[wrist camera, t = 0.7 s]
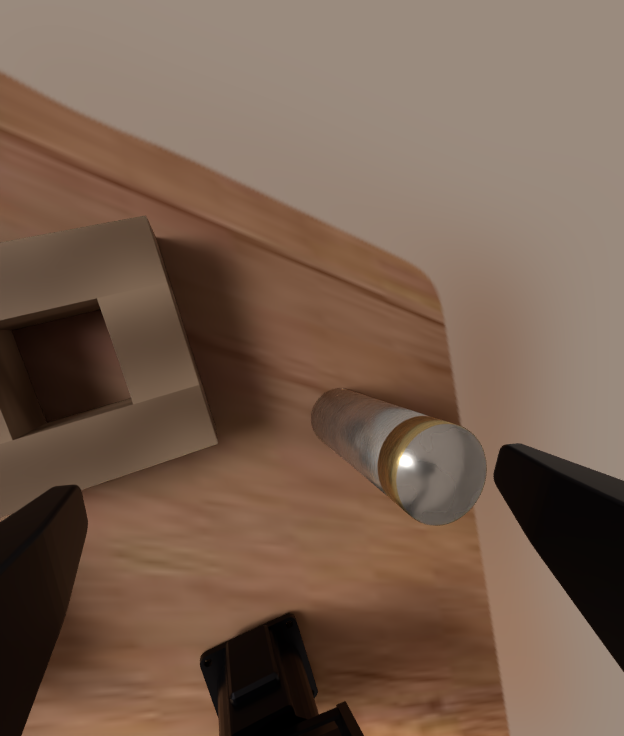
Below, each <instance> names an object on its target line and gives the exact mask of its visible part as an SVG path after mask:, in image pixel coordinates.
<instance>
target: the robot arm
mask: <svg viewBox="0 0 624 736" xmlns="http://www.w3.org/2000/svg"><path fill="white" fill-rule="evenodd" d="M494 482H495V484H496V486H497V488H498V489H499V491H500V493H501V494H502V496H503V498H504V500H505V501H506V503H507V505H508V506H509V508H510V509H511V511H512V513H513V515H514V516H515V518H516V520H517V521H518V523H519V525H520V526H521V528H522V530H523V531H524V533H525V535H526V536H527V538H528V539H529V541H530V542H531V544H532V545H533V547H534V548H535V550H536V551H537V552H538V554H539V555H540V557H541V558H542V560H543V561H544V562H545V564H546V565H547V566H548V568H549V569H550V571H551V572H552V573H553V575H554V576H555V578H556V579H557V580H558V581H559V583H560V584H561V586H562V587H563V589H564V590H565V591H566V593H567V594H568V595H569V597H570V598H571V600H572V601H573V602H574V604H575V605H576V607H577V608H578V609H579V611H580V612H581V614H582V615H583V616H584V618H585V619H586V620H587V622H588V623H589V625H590V626H591V627H592V629H593V630H594V631H595V633H596V634H597V636H598V637H599V638H600V640H601V641H602V643H603V644H604V645H605V647H606V648H607V649H608V651H609V652H610V654H611V655H612V656H613V658H614V659H615V660H616V662H617V663H618V665H619V666H620V668H621V669H622V670H623V672H624V481H622V480H620V479H617V478H614V477H611V476H609V475H606V474H603V473H601V472H598V471H595V470H592V469H590V468H587V467H584V466H581V465H579V464H575V463H573V462H570V461H567V460H565V459H562V458H559V457H556V456H554V455H551V454H548V453H545V452H543V451H540V450H537V449H534V448H532V447H529V446H526V445H523V444H518V443H517V444H507V445H503V446H502V447H501V448H500V451H499V454H498V458H497V462H496V466H495V470H494ZM87 528H88V519H87V514H86V509H85V505H84V500H83V496H82V492H81V489H80V487H79V486H78V485H76V484H73V485H62V486H54V487H52V488H50V489H49V490H47V491H46V492H44V493H43V494H41V495H40V496H38V497H37V498H35V499H34V500H32V501H31V502H29V503H28V504H26V505H25V506H24V507H22V508H21V509H19V510H18V511H16V512H15V513H13V514H12V515H10V516H9V517H7V518H6V519H4V520H3V521H2V522H0V736H21V735H22V732H23V730H24V727H25V724H26V722H27V719H28V716H29V713H30V711H31V708H32V705H33V703H34V700H35V697H36V695H37V692H38V689H39V686H40V684H41V681H42V678H43V676H44V673H45V670H46V668H47V665H48V662H49V659H50V657H51V654H52V651H53V649H54V646H55V643H56V641H57V638H58V635H59V633H60V630H61V627H62V624H63V621H64V618H65V615H66V612H67V608H68V605H69V601H70V597H71V593H72V589H73V585H74V581H75V577H76V573H77V569H78V565H79V561H80V557H81V553H82V550H83V546H84V542H85V538H86V534H87ZM288 621H291V623H289V624H286V623H287V622H288ZM207 659H210V660H211V661H209V662H205V661H206V660H207ZM200 667H201V670H202V673H203V676H204V679H205V682H206V684H207V687H208V690H209V693H210V696H211V699H212V701H213V704H214V707H215V710H216V713H217V716H218V718H219V736H364V735H363V733H362V731H361V729H360V727H359V726H358V724H357V722H356V720H355V718H354V716H353V714H352V713H351V711H350V709H349V707H348V705H347V703H346V702H342V703H340V704H337V705H336V706H337V707H336V708H334V709H331V710H329V711H326V712H324V713H322V714H319V713H318V710H317V707H316V704H315V700H314V698H315V697H316V696H317V693H318V690H317V687H316V683H315V680H314V677H313V674H312V670H311V667H310V664H309V661H308V657H307V654H306V651H305V648H304V644H303V641H302V638H301V634H300V631H299V628H298V625H297V621H296V618H295V616H294V615H293V614H291V613H288V614H285V615H283V616H281V617H279V618H276V619H274V620H272V621H270V622H268V623H266V624H264V625H261V626H259V627H257V628H255V629H253V630H251V631H248V632H246V633H244V634H242V635H240V636H238V637H236V638H233V639H231V640H229V641H227V642H225V643H223V644H221V645H219V646H216V647H214V648H212V649H210V650H208V651H206V652H204V653H203V654H202V655H201V658H200Z"/></svg>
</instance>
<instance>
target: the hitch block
mask: <svg viewBox="0 0 624 736" xmlns="http://www.w3.org/2000/svg"><path fill="white" fill-rule="evenodd" d="M99 309H101V312H102V315H103V318H104V320H105V323H106V326H107V329H108V332H109V335H110V338H111V341H112V344H113V347H114V350H115V353H116V355H117V358H118V361H119V364H120V367H121V370H122V373H123V376H124V379H125V382H126V385H127V388H128V390H129V393H130V396H131V398H130V399H126V400H123V401H120V402H116V403H113V404H109V405H106V406H103V407H99V408H96V409H92V410H89V411H86V412H82V413H79V414H75V415H72V416H69V417H65V418H62V419H58V420H55V421H51V422H48V423H46V421H45V418H44V415H43V413H42V410H41V407H40V405H39V402H38V400H37V397H36V394H35V392H34V389H33V386H32V384H31V381H30V378H29V376H28V373H27V370H26V368H25V365H24V363H23V360H22V357H21V355H20V352H19V349H18V347H17V344H16V341H15V339H14V336H13V333H12V331H11V330H15V329H19V328H23V327H27V326H32V325H36V324H40V323H44V322H49V321H53V320H57V319H61V318H66V317H70V316H74V315H78V314H82V313H87V312H91V311H95V310H99ZM216 444H218V441H217V433H216V427H215V424H214V421H213V417H212V414H211V411H210V408H209V405H208V402H207V398H206V395H205V392H204V389H203V386H202V382H201V379H200V376H199V373H198V370H197V367H196V363H195V360H194V357H193V354H192V351H191V348H190V344H189V341H188V338H187V335H186V332H185V328H184V325H183V322H182V319H181V316H180V313H179V309H178V306H177V303H176V300H175V297H174V293H173V290H172V287H171V284H170V281H169V278H168V274H167V271H166V268H165V265H164V262H163V259H162V255H161V252H160V249H159V246H158V243H157V239H156V236H155V234H154V232H153V230H152V228H151V226H150V223H149V221H148V219H147V217H146V216H141V217H135V218H130V219H124V220H119V221H114V222H108V223H103V224H97V225H92V226H87V227H81V228H76V229H70V230H65V231H60V232H54V233H49V234H43V235H38V236H33V237H27V238H22V239H17V240H11V241H6V242H0V517H3V516H6V515H9V514H12V513H15V512H16V511H18V510H19V509H21V508H22V507H24V506H25V505H26V504H28V503H29V502H31V501H32V500H34V499H35V498H37V497H38V496H40V495H41V494H43V493H44V492H46V491H47V490H49V489H50V488H52V487H54V486H62V485H73V484H76V485H78V486H79V487H80V489H81V490H83V489H86V488H89V487H92V486H95V485H98V484H101V483H104V482H107V481H110V480H113V479H116V478H118V477H121V476H124V475H127V474H130V473H133V472H136V471H139V470H142V469H145V468H148V467H151V466H154V465H157V464H160V463H163V462H166V461H169V460H172V459H175V458H178V457H180V456H183V455H186V454H189V453H192V452H195V451H198V450H201V449H204V448H207V447H210V446H213V445H216Z"/></svg>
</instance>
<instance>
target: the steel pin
mask: <svg viewBox="0 0 624 736" xmlns="http://www.w3.org/2000/svg"><path fill="white" fill-rule="evenodd" d="M311 424H312V428H313V430H314V432H315V434H316V436H317V437H318V438H319V439H320V440H321V441H322V442H324V443H325V444H326V445H327V446H328V447H330V448H331V449H332V450H333V451H334V452H336V453H337V454H338V455H339V456H340V457H342V458H343V459H344V460H345V461H346V462H348V463H349V464H350V465H351V466H352V467H354V468H355V469H356V470H357V471H358V472H360V473H361V474H362V475H363V476H364V477H366V478H367V479H368V480H369V481H370V482H371V483H373V484H374V485H375V486H376V487H377V488H379V489H380V490H381V491H382V492H383V493H385V494H386V495H387V496H388V497H389V498H390V499H391V500H392V501H393V502H395V503H396V504H397V505H398V506H399V507H401V508H402V509H403V510H404V511H405V512H406V513H408V514H409V515H410V516H411V517H413V518H414V519H415V520H417V521H419V522H421V523H424V524H427V525H435V526H437V525H445V524H449V523H451V522H454V521H456V520H458V519H459V518H461V517H462V516H464V515H465V514H466V513H467V512H468V511H469V510H470V509H471V508H472V507H473V506H474V504H475V503H476V501H477V500H478V498H479V496H480V495H481V492H482V490H483V487H484V484H485V479H486V471H487V468H486V458H485V454H484V450H483V448H482V446H481V444H480V442H479V441H478V439H477V438H476V437H475V436H474V435H473V434H472V433H471V432H470V431H468V430H467V429H466V428H464V427H462V426H459V425H456V424H453V423H450V422H447V421H444V420H441V419H438V418H434V417H431V416H427V415H424V414H421V413H418V412H415V411H412V410H409V409H406V408H403V407H400V406H397V405H393V404H390V403H387V402H384V401H381V400H378V399H375V398H372V397H369V396H366V395H363V394H360V393H357V392H354V391H351V390H348V389H343V388H337V389H332V390H330V391H327V392H326V393H324V394H323V395H322V396H321V397H320V398H319V399H318V400H317V401H316V403H315V405H314V407H313V410H312V414H311Z"/></svg>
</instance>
